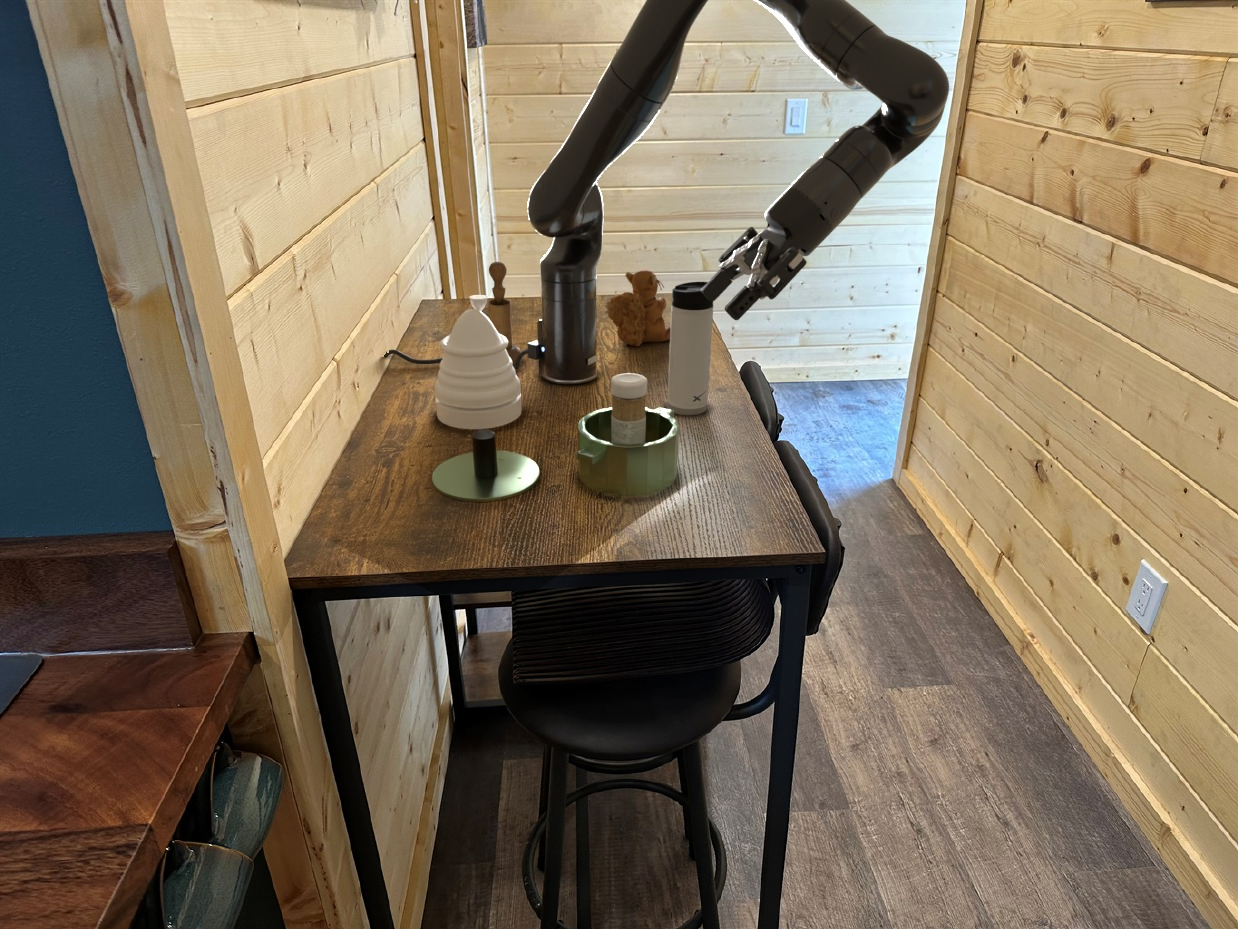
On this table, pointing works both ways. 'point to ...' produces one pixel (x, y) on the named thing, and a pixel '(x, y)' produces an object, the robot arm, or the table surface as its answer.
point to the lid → (485, 472)
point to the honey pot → (476, 374)
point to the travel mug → (689, 349)
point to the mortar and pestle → (501, 308)
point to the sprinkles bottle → (628, 408)
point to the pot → (628, 455)
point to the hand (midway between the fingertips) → (717, 305)
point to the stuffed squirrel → (639, 311)
